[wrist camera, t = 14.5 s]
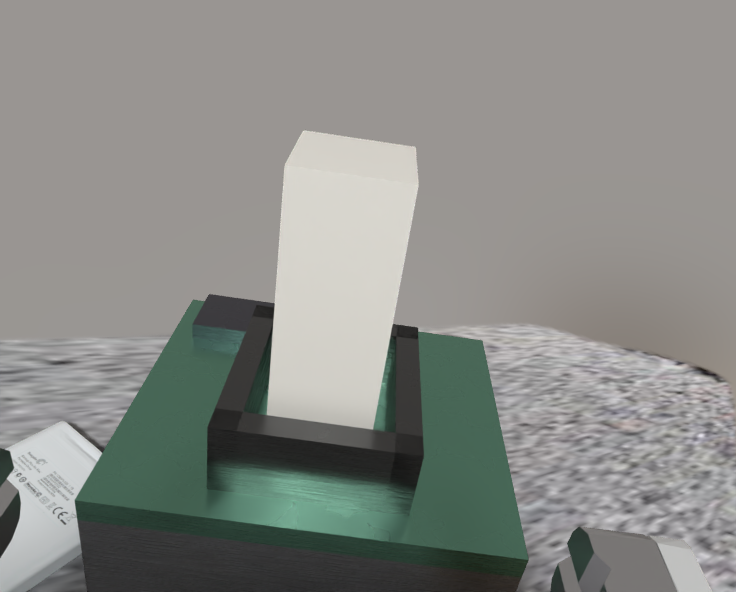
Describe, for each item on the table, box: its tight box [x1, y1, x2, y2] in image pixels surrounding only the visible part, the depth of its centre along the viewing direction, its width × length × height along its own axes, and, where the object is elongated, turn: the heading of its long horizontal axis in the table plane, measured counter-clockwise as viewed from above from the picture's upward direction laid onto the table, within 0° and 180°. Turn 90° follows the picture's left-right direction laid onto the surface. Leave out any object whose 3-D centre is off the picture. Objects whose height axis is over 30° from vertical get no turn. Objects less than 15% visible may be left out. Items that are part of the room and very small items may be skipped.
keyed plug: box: [267, 130, 419, 430], centre depth 23 cm, size 4×5×12 cm
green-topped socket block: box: [74, 294, 528, 592], centre depth 29 cm, size 16×14×12 cm
